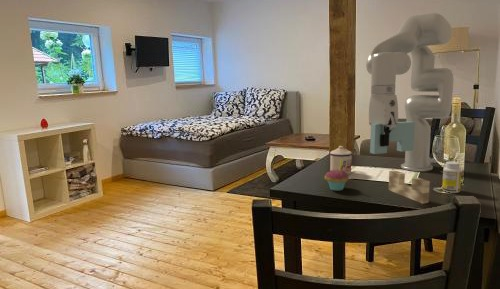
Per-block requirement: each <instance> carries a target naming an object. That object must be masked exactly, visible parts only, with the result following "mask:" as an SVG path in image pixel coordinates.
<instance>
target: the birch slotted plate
mask: <svg viewBox="0 0 500 289" xmlns="http://www.w3.org/2000/svg"><path fill="white" fill-rule="evenodd" d="M405 174H406V173H405V172H402V171H398V170H395V169H392V170H389V171H388V191H390V192H393V193H395V194H397V195H400V196H402V197H405V198H407V199H410V200H411V201H412V200H413V201H415V202H417V203H420V204H422V205H423V204H429V202H430V201H429V199H430V183H431V181H430V180H426V179H424V178H421V177H413V178H411V184H410V185H409V184H408V183H407V184H406V183H405V181H406V180H405V179H406V176H405Z"/></svg>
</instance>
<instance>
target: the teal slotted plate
mask: <svg viewBox="0 0 500 289" xmlns="http://www.w3.org/2000/svg"><path fill="white" fill-rule="evenodd" d="M385 129H386V127H385ZM414 130H415V122H411V121H407V122H406V121H398V123H397V124H396V128H395V129H393V130H392V131H391V134H389V142H396V151H398V152H405V151H413V147H414ZM381 134H382V125H380V124H371V125H370V145H369V153H370V154H373V155H380V154H388V146H380V135H381Z"/></svg>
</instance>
